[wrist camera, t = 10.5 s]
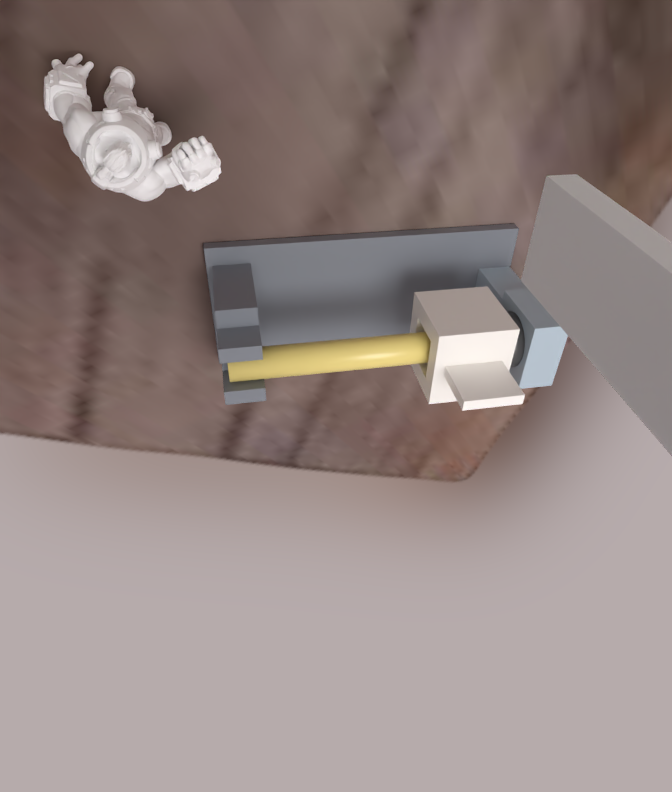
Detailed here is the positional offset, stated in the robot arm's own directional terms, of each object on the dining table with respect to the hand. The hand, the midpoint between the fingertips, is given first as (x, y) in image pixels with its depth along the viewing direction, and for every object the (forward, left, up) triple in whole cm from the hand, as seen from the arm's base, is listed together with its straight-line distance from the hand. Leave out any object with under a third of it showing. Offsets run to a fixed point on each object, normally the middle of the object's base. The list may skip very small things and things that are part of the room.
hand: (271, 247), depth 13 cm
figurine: (-6, -4, -32) cm, 33 cm away
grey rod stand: (+10, -20, -32) cm, 39 cm away
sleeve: (+16, -20, -26) cm, 36 cm away
